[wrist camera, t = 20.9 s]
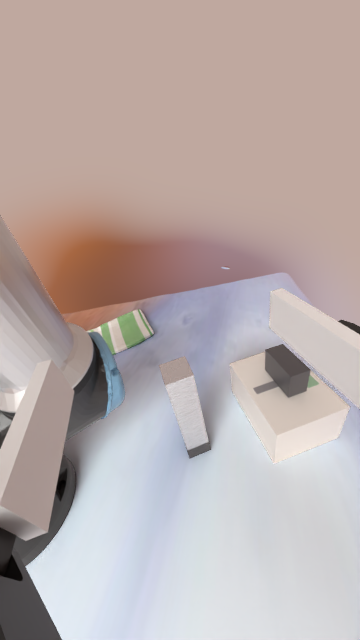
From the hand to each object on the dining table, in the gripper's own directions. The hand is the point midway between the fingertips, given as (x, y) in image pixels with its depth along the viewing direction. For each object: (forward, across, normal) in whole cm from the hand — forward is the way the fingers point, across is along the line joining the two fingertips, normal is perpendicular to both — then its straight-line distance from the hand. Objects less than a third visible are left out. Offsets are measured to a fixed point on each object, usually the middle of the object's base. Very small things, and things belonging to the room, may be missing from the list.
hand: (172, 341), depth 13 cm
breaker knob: (+10, +16, -22) cm, 29 cm away
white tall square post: (+10, 0, -30) cm, 31 cm away
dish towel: (+49, -14, -31) cm, 60 cm away
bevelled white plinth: (+10, +16, -30) cm, 35 cm away
